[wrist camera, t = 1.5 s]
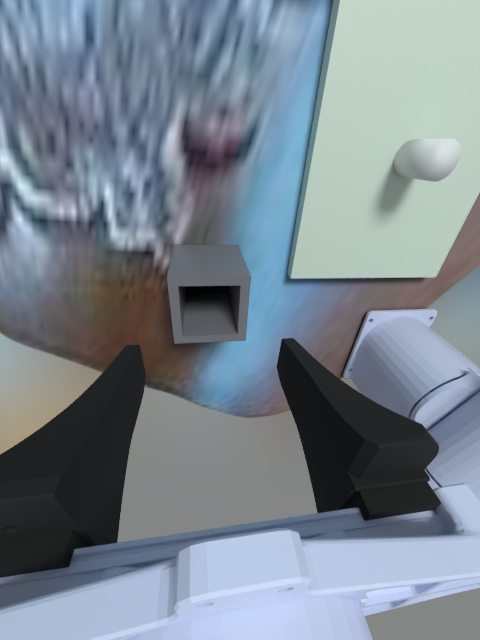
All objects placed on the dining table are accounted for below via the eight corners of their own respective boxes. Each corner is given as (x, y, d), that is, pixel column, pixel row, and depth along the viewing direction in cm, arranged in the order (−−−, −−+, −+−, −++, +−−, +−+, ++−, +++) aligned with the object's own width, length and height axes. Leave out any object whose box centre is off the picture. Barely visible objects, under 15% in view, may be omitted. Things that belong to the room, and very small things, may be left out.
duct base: (427, 272, 25) (462, 292, 21) (287, 273, 23) (302, 295, 19) (573, -22, 15) (680, -69, 11) (344, -66, 13) (395, -138, 9)
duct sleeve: (235, 299, 23) (245, 340, 19) (179, 300, 23) (174, 343, 18) (238, 245, 21) (250, 276, 16) (174, 244, 20) (166, 277, 15)
